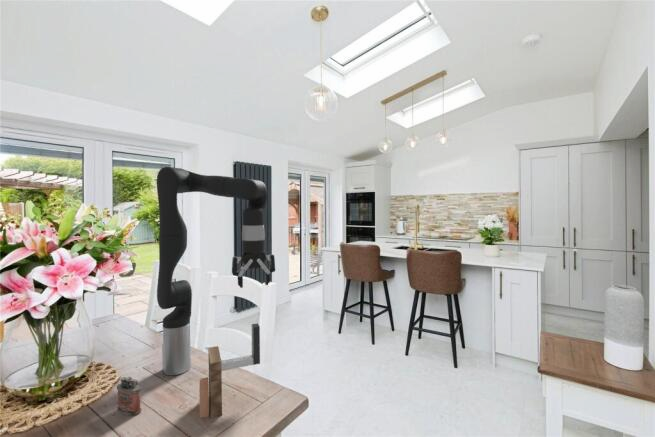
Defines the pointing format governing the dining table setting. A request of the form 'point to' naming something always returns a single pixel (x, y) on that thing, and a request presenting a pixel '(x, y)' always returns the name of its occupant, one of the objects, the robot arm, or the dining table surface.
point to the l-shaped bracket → (246, 360)
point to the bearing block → (215, 381)
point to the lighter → (129, 397)
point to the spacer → (204, 397)
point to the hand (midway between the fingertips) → (254, 285)
